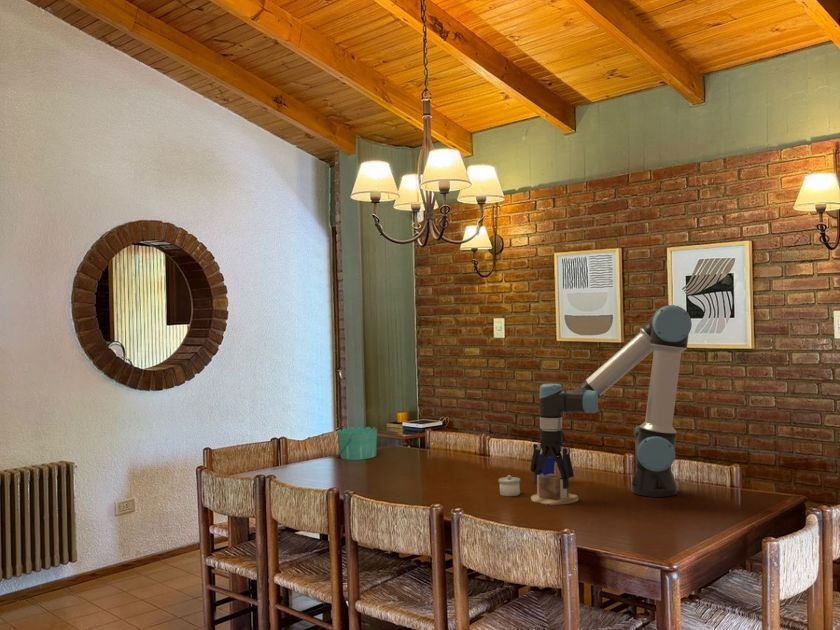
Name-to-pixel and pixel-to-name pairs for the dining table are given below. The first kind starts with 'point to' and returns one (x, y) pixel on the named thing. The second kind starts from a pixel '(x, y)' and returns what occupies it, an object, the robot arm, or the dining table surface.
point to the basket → (357, 443)
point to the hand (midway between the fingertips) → (551, 495)
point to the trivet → (568, 500)
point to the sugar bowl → (509, 486)
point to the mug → (547, 466)
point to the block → (550, 486)
